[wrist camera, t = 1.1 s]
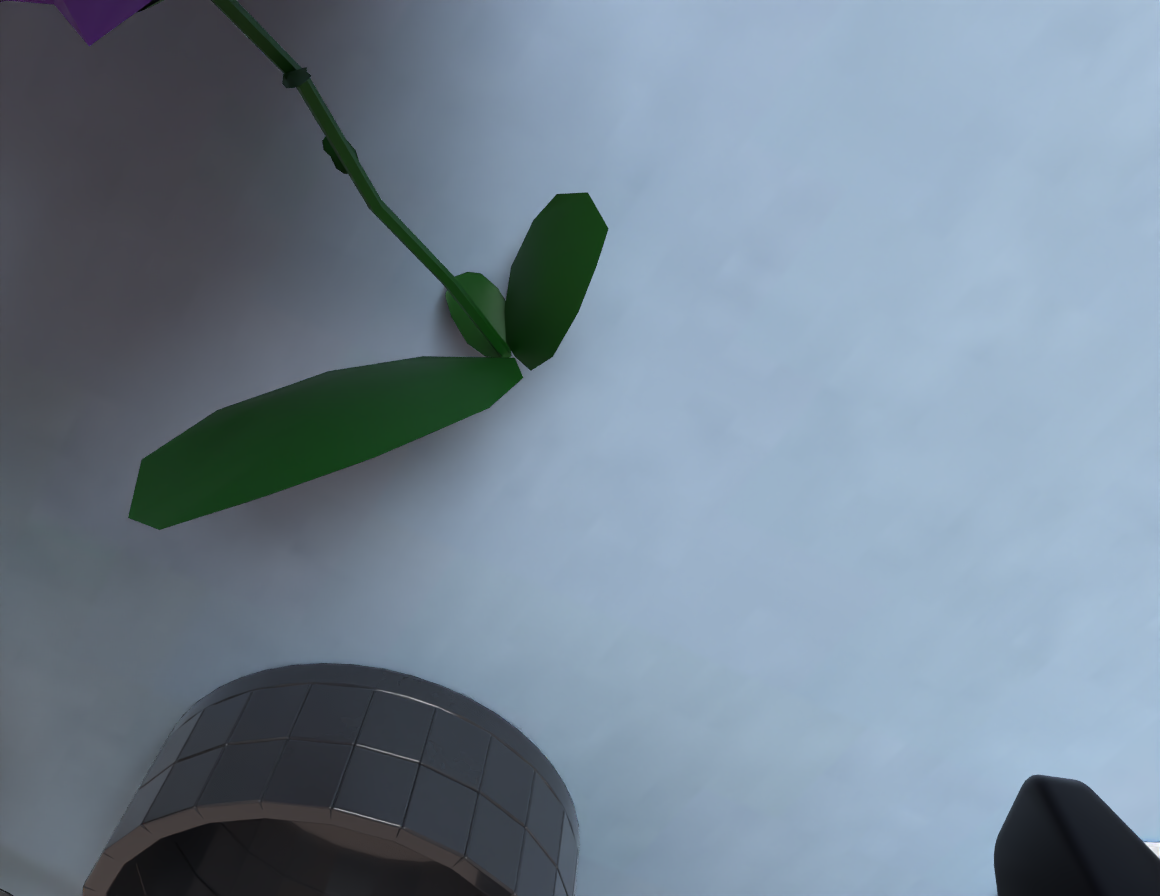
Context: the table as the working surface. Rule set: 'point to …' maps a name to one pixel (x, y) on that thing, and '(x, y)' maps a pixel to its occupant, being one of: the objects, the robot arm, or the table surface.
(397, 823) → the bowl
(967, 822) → the table surface
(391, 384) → the flower
